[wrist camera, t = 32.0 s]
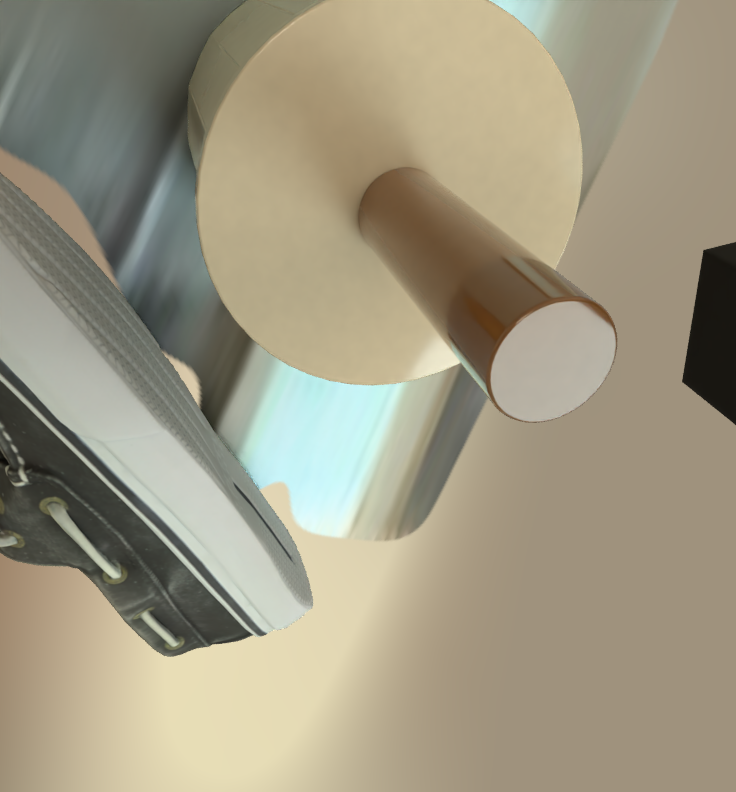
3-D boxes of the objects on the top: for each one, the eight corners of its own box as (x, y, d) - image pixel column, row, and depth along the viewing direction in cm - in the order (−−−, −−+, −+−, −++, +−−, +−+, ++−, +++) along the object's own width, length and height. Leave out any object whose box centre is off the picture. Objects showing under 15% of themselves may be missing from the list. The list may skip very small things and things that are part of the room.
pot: (131, 104, 28) (128, 186, 18) (331, -81, 27) (443, -99, 17) (296, 283, 34) (360, 417, 24) (467, 139, 33) (609, 219, 23)
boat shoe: (-43, 144, 18) (-421, 333, 17) (355, 676, 36) (174, 782, 35) (-11, 84, 26) (-267, 211, 26) (299, 540, 44) (152, 623, 43)
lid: (101, 180, 19) (71, 365, 10) (441, -131, 17) (730, -208, 9) (353, 426, 25) (461, 663, 17) (618, 217, 23) (881, 362, 15)
